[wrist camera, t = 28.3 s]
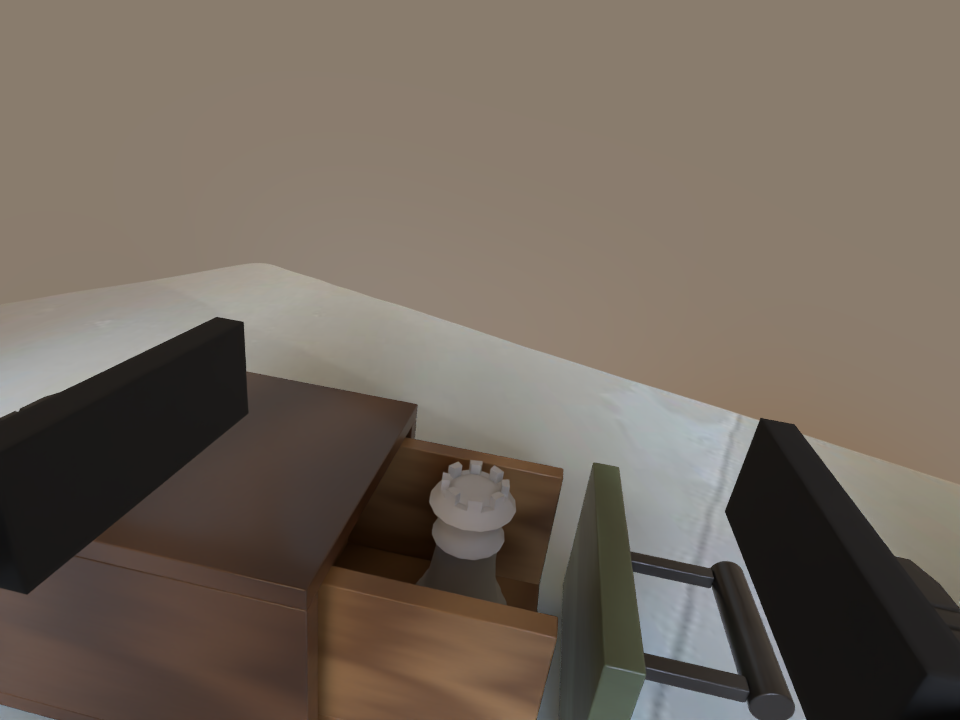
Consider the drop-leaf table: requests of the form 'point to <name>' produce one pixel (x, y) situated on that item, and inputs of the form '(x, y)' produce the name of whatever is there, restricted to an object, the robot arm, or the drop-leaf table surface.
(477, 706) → the drawer
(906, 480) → the drop-leaf table surface
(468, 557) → the rook chess piece
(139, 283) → the drop-leaf table surface
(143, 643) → the cabinet
